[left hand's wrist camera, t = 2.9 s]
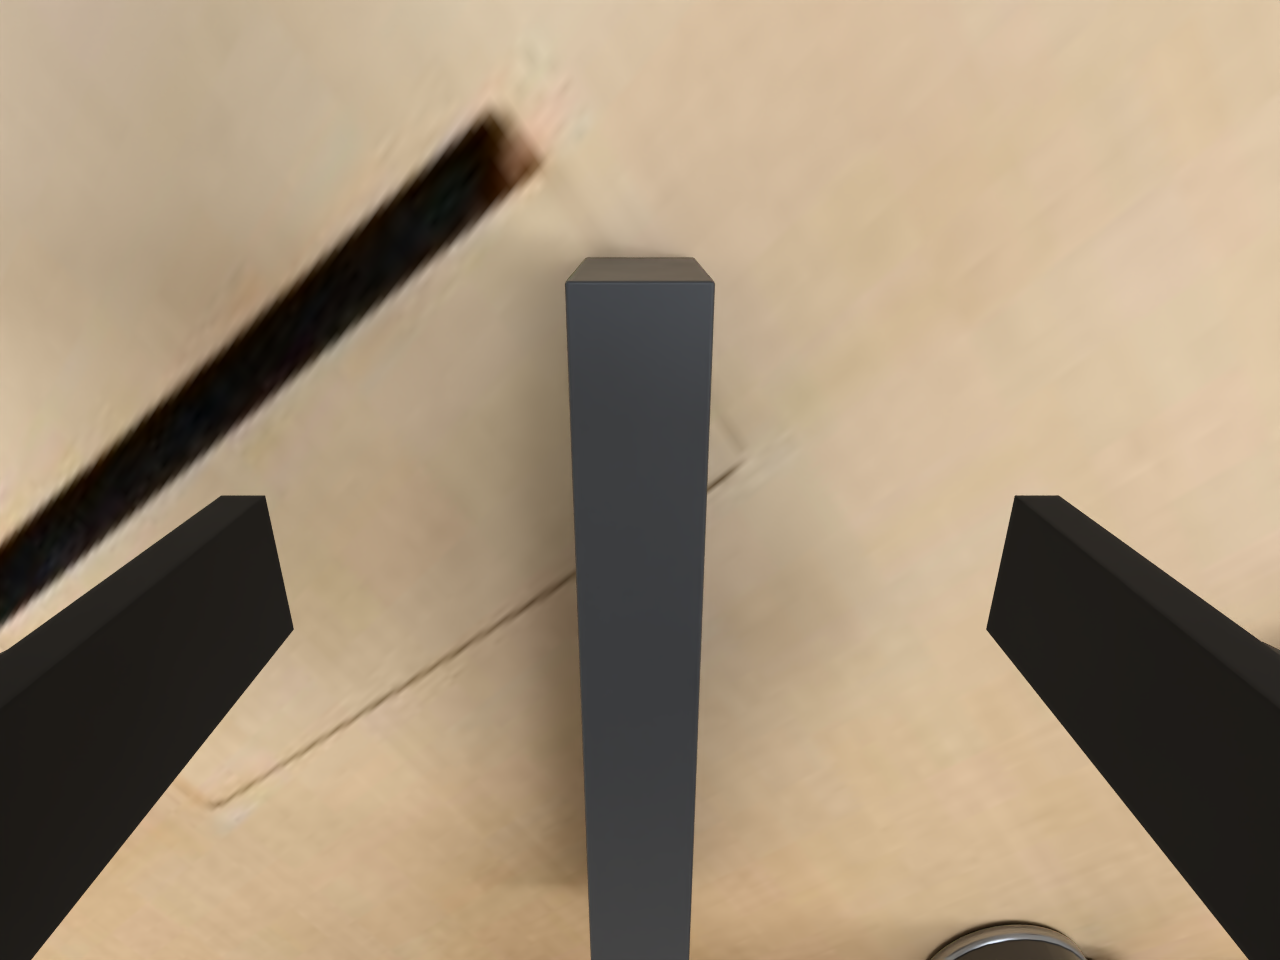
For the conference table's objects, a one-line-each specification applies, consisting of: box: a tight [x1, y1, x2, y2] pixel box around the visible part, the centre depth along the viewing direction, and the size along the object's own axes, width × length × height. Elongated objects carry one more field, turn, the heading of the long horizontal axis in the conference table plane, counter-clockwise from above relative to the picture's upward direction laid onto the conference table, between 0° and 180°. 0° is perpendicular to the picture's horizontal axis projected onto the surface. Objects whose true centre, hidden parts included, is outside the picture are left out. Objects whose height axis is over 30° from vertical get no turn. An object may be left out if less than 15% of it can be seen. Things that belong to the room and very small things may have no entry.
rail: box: [565, 258, 715, 960], centre depth 28 cm, size 32×4×8 cm, turn 0°
